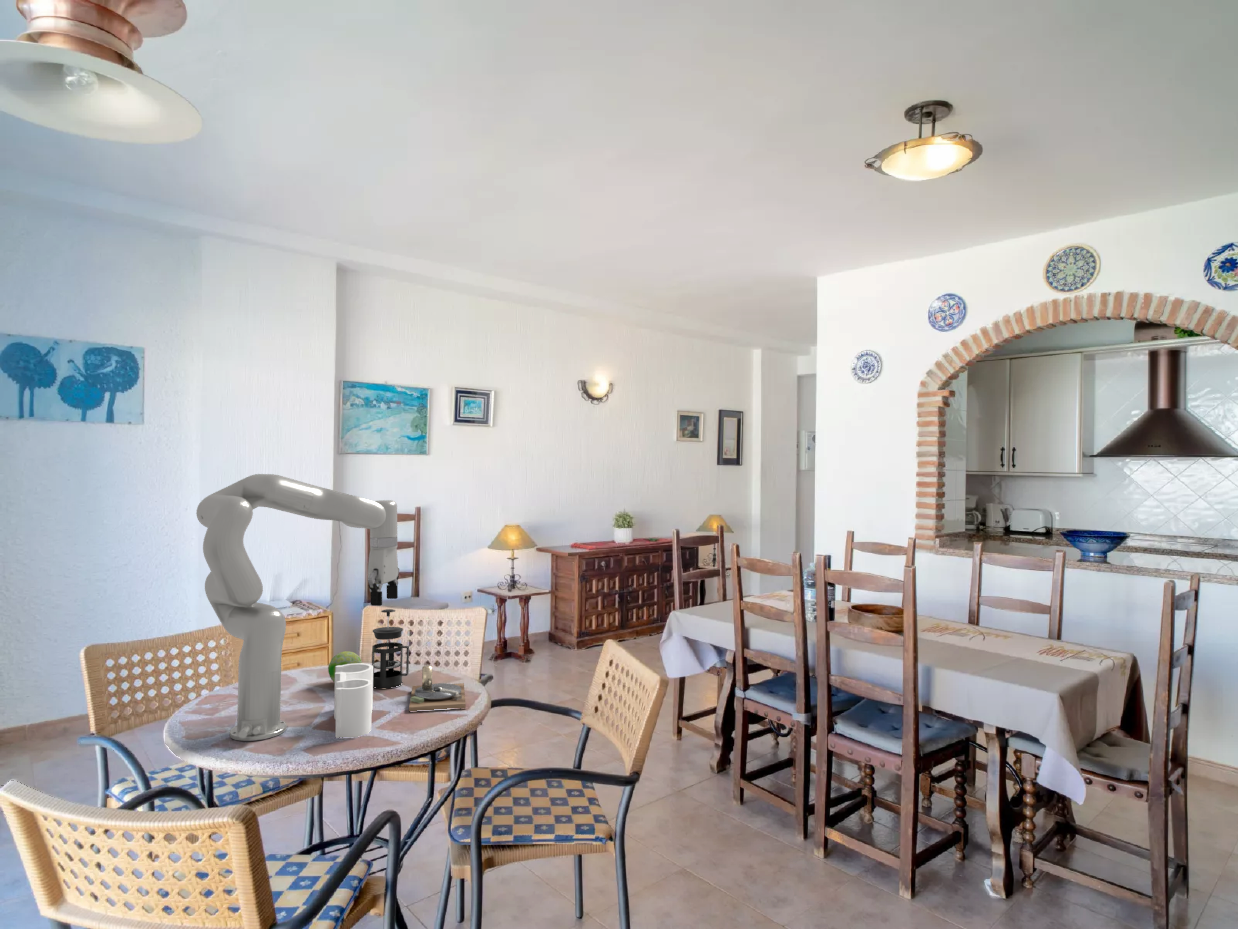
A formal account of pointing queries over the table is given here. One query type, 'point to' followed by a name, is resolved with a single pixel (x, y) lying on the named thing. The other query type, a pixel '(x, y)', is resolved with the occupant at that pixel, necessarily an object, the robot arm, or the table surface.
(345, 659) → the decorative ball
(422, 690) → the dial
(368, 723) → the white utensil holder
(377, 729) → the table surface
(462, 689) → the dial board
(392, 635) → the french press
